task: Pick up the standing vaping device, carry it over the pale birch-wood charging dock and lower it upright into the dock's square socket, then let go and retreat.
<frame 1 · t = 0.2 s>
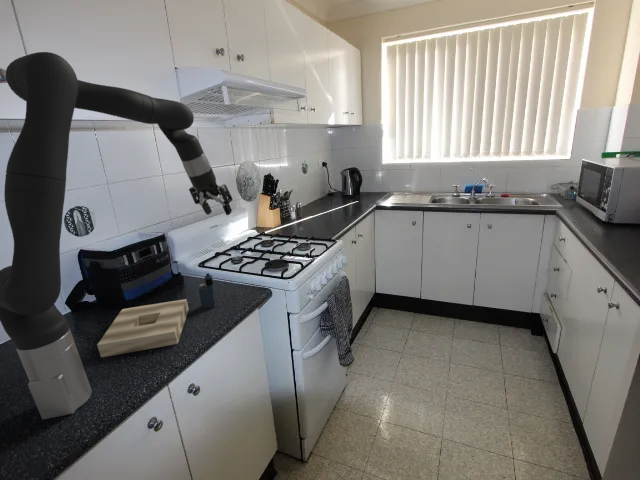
hand: (219, 213, 114), 30 cm above the worktop, tool tilted 20°, fingers open, 8 cm apart
vaping device: (210, 306, 116), on the worktop
socket dock: (149, 330, 103), on the worktop
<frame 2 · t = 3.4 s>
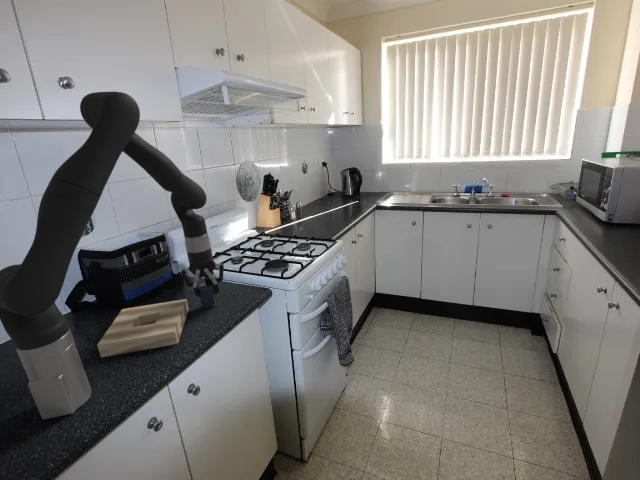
hand: (207, 294, 114), 4 cm above the worktop, tool pointing down, fingers closed on vaping device, 5 cm apart
vaping device: (210, 306, 116), on the worktop, touching gripper
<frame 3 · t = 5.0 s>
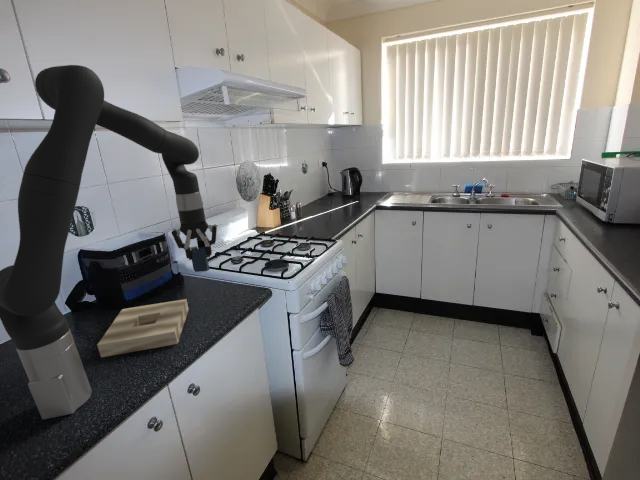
hand: (200, 257, 110), 18 cm above the worktop, tool pointing down, fingers closed on vaping device, 5 cm apart
vaping device: (202, 270, 111), point 13 cm above the worktop, touching gripper
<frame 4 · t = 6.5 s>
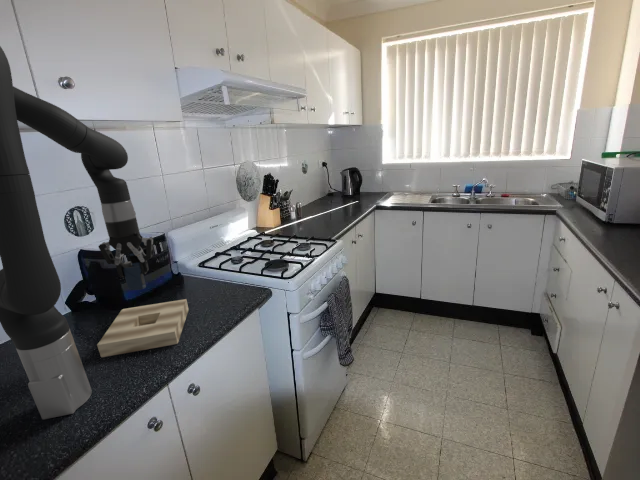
hand: (134, 274, 97), 19 cm above the worktop, tool pointing down, fingers closed on vaping device, 5 cm apart
vaping device: (137, 288, 99), point 14 cm above the worktop, touching gripper
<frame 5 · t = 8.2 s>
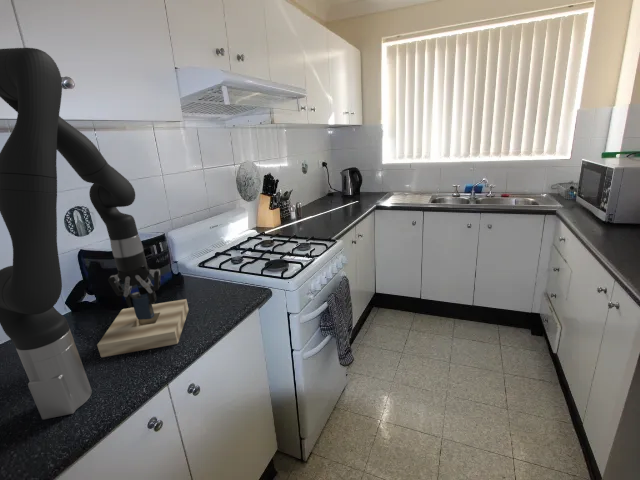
hand: (142, 304, 100), 9 cm above the worktop, tool pointing down, fingers closed on vaping device, 5 cm apart
vaping device: (146, 317, 102), point 5 cm above the worktop, touching gripper
when the fingers open (5 cm above the worktop, at t = 9.8 s): vaping device stays where it is, resting in socket dock.
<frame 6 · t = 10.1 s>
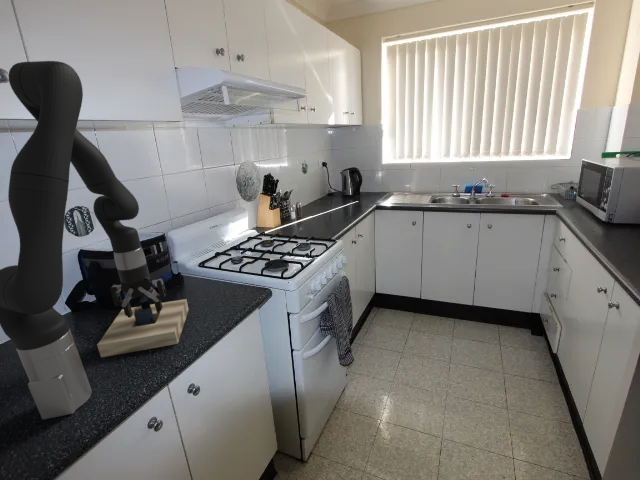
hand: (145, 313, 101), 6 cm above the worktop, tool pointing down, fingers open, 7 cm apart
vaping device: (148, 331, 103), resting in socket dock
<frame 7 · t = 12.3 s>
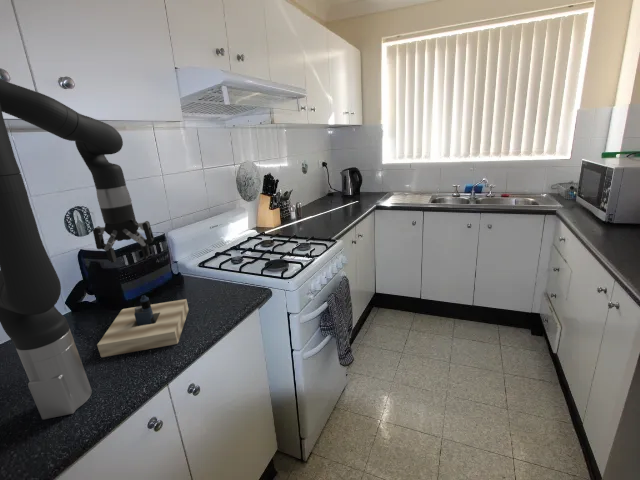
hand: (130, 259, 96), 24 cm above the worktop, tool pointing down, fingers open, 8 cm apart
nothing on the worktop moved.
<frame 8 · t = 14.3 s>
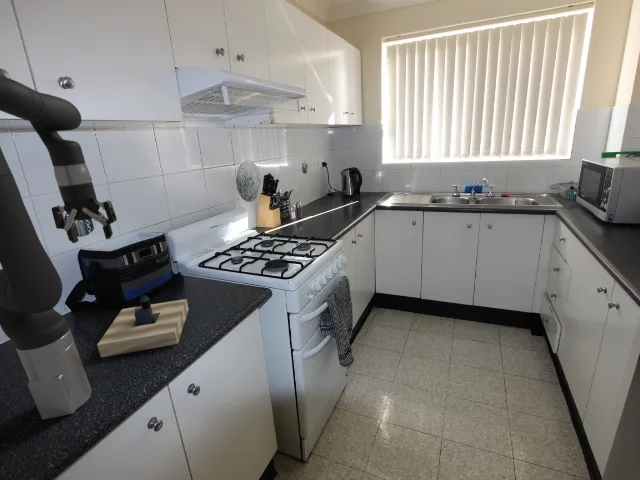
hand: (92, 240, 94), 30 cm above the worktop, tool pointing down, fingers open, 8 cm apart
nothing on the worktop moved.
at the end: vaping device 0.3 cm off-centre on the socket dock, point 0.0 cm above the socket dock's base; vaping device tilted 0°; the gripper is holding nothing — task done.
